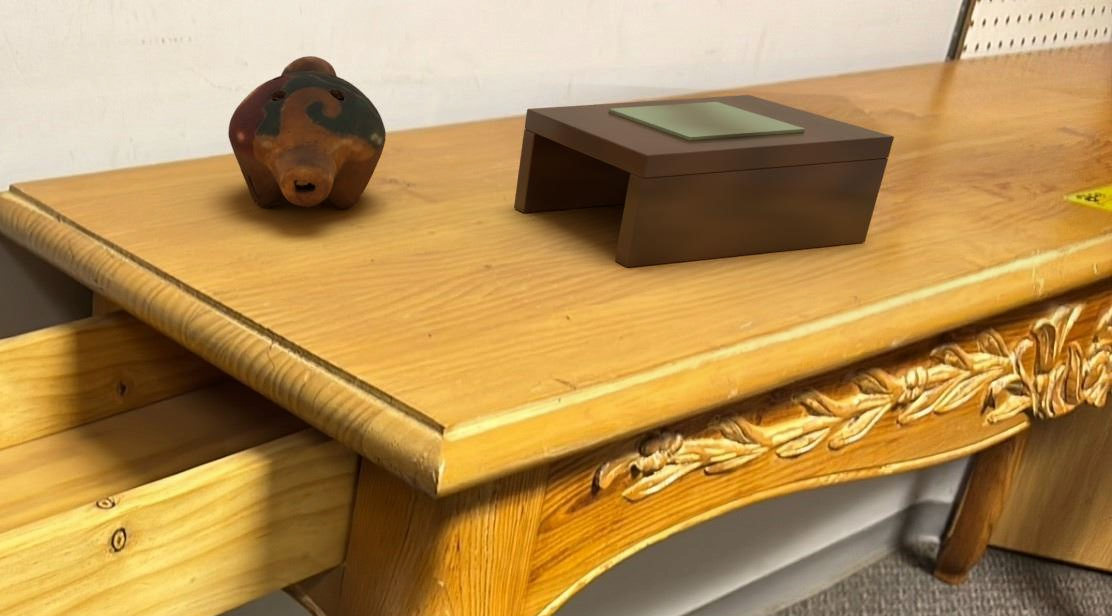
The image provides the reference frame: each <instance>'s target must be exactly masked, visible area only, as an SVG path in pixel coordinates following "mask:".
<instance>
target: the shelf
mask: <svg viewBox="0 0 1112 616" xmlns="http://www.w3.org/2000/svg"><path fill="white" fill-rule="evenodd" d="M894 139H895V137H894V136H893V135H890V134H887V133H883V132H880V131H877V130H873V129H869V128H866V127H862V126H859V125H855V124H852V123H848V122H845V121H841V120H838V119H834V118H831V117H828V116H824V115H820V114H817V113H814V112H810V111H807V110H804V109H799V108H796V107H792V106H789V105H786V104H782V103H778V102H775V101H771V100H768V99H765V98H761V97H757V96H754V95H750V94H741V95H740V94H739V95H725V96H709V97H695V98H694V97H693V98H692V97H691V98H678V99H677V98H675V99H664V100H663V99H662V100H647V101H646V100H645V101H630V102H614V103H613V102H612V103H599V104H598V103H597V104H596V103H595V104H582V105H581V104H580V105H568V106H567V105H566V106H565V105H564V106H549V107H534V108H527V109H526V114H525V122H524V129H523V136H522V143H521V151H520V157H519V166H518V173H517V180H516V189H515V196H514V204H513V209H516V210H518V211H519V212H521V213H524V214H525V213H527V214H528V213H537V212H549V211H558V210H570V209H571V210H573V209H582V208H593V207H603V206H615V205H624V206H623V207H624V208H623V212H622V218H621V224H620V230H619V236H618V241H617V246H616V252H615V257H614V261H615V262H616V263H618V264H621V265H622V266H624V267H626V268H634V267H642V266H652V265H662V264H670V263H679V262H680V263H681V262H691V261H699V260H700V261H701V260H708V259H709V260H710V259H718V258H727V257H728V258H729V257H737V256H738V257H739V256H746V255H754V254H764V253H765V254H766V253H776V252H784V251H793V250H804V249H812V248H813V249H814V248H823V247H831V246H832V247H833V246H841V245H851V244H861V243H865V242H866V239H867V236H868V232H869V228H870V225H871V221H872V218H873V214H874V211H875V207H876V203H877V200H878V196H879V193H880V190H881V185H882V182H883V178H884V175H885V172H886V168H887V164H888V161H889V157H890V153H891V150H892V146H893V143H894Z"/></svg>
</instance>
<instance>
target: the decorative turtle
mask: <svg viewBox="0 0 1112 616" xmlns="http://www.w3.org/2000/svg"><path fill="white" fill-rule="evenodd" d="M386 132H387V131H386V127H385V125H384V121H383V119H382V116H381V114H380V112H379V111H378V108H377V107H376V106H375V105H374V103H373V102H372V101H371V100H370V98H369V97H368V96H367V95H366V94H365V93H363V91H361V89H359V88H358V87H357V86H356V85H354V84H352V83H351V82H349V81H348V80H347V79H344V78H341V77H340V76H337V73H336V70H335V69H334V67H333V65H332V64H331V63H330V62H329V61H327V60H325V59H324V58H321V57H318V56H313V55H307V56H302V57H298V58H296V59H294V60H292V61H291V62H290V63H288V65H286V66H285V67H284V68H283V70H282V72H281V74H280V75H279V76H276V77H274V78H272V79H269V80H267V81H264V82H263V83H261V84H259V85H258V86H256V87H255V88H254V89H253V90H252V91H251V92H249V93H248V94H247V95H246V96H245V97H244V99H243V100H242V101H241V102H240V103H239V104H238V106H237V107H236V108H235V110H234V112H233V114H232V116H231V117H230V120H229V124H228V132H227V133H228V135H227V136H228V139H229V142H230V146H231V148H232V151H233V155H234V157H235V158H236V161H237V163H238V166H239V169H240V172H241V174H242V176H243V179H244V181H245V184H246V186H247V189H248V192H249V194H250V197H251V198H252V200H253V201H254V203H255V204H257V205H258V206H259V207H261V208H265V207H267V208H269V209H270V208H272V207H274V206H275V205H277V204H278V203H279V202H280V201H281V200H282V199H283V198H285V199H286V200H287V201H288V202H289V203H291V204H292V205H295V206H299V207H306V208H311V207H315V206H317V205H319V204H321V203H322V202H324V201H325V200H326V199H327V198H328V199H329V200H330V202H331V203H332V204H333V205H334V206H335V207H336V208H337V209H340V210H341V209H342V210H343V209H345V210H347V209H350V208H352V207H354V206H355V205H356V204H357V203H358V201H359V200H360V198H361V196H362V195H363V193H364V191H365V190H366V188H367V186H368V185H369V182H370V180H371V178H372V177H373V174H374V173H375V170H376V168H377V166H378V163H379V161H380V158H381V156H382V154H383V152H384V151H383V150H384V148H385V144H386V134H387V133H386ZM298 182H306V183H307V184H304V185H299V184H298Z"/></svg>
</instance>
